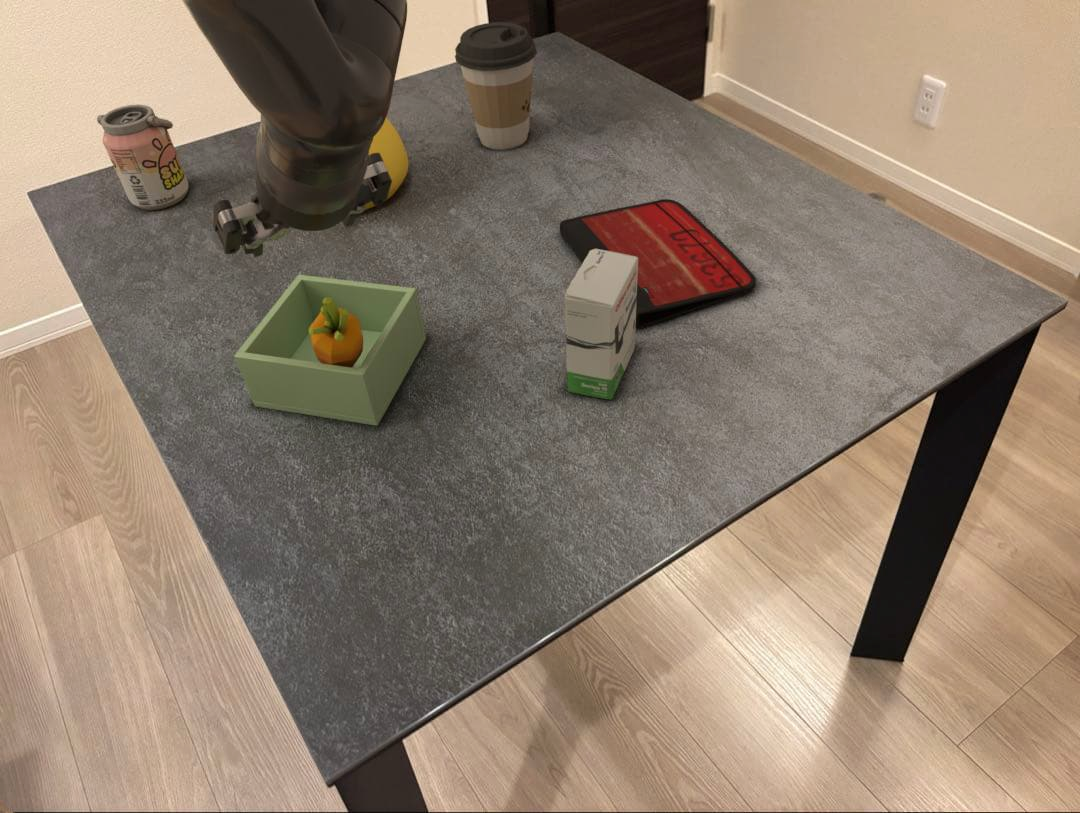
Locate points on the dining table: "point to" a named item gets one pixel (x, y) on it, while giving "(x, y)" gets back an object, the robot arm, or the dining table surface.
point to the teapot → (390, 155)
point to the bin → (322, 389)
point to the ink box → (600, 322)
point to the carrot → (336, 335)
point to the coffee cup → (498, 81)
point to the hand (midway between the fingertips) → (299, 230)
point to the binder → (663, 256)
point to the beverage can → (144, 156)
